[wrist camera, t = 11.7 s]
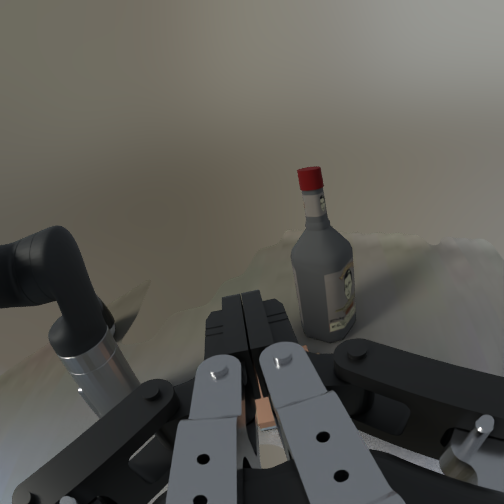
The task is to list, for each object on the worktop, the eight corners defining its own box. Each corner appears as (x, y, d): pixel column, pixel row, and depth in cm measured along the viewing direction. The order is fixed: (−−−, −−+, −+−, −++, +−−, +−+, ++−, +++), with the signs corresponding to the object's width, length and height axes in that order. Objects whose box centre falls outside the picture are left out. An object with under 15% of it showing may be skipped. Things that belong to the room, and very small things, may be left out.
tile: (258, 423, 34) (248, 359, 48) (261, 430, 35) (251, 367, 48) (330, 405, 35) (306, 345, 48) (330, 413, 35) (307, 353, 48)
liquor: (297, 335, 54) (267, 176, 43) (319, 309, 60) (298, 165, 49) (340, 347, 48) (321, 173, 37) (359, 317, 54) (346, 162, 43)
